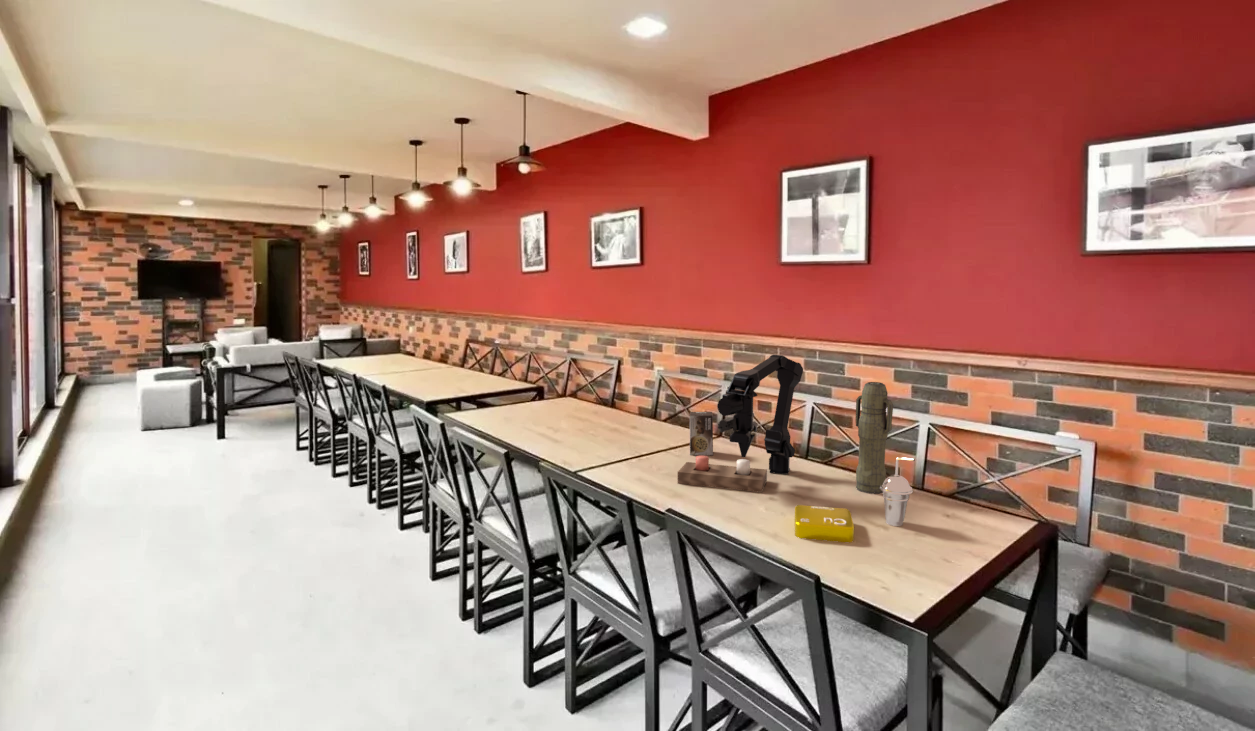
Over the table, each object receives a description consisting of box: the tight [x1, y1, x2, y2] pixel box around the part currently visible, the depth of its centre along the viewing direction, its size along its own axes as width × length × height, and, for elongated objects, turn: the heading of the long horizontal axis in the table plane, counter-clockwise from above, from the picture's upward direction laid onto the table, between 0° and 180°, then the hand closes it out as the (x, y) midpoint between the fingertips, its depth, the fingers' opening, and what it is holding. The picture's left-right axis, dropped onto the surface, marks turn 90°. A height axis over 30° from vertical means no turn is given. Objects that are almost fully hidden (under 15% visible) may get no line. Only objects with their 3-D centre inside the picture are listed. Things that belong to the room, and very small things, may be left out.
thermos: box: [855, 381, 894, 495], centre depth 203 cm, size 9×12×35 cm
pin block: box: [677, 461, 768, 493], centre depth 214 cm, size 28×12×4 cm, turn 70°
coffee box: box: [689, 411, 714, 456], centre depth 248 cm, size 9×6×16 cm
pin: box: [736, 458, 751, 475], centre depth 211 cm, size 4×4×4 cm
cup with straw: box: [880, 456, 915, 527], centre depth 176 cm, size 8×9×20 cm
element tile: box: [794, 504, 855, 543], centre depth 173 cm, size 15×15×5 cm
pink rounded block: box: [695, 455, 710, 471], centre depth 215 cm, size 4×4×4 cm
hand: (743, 457), depth 210 cm, fingers closed
